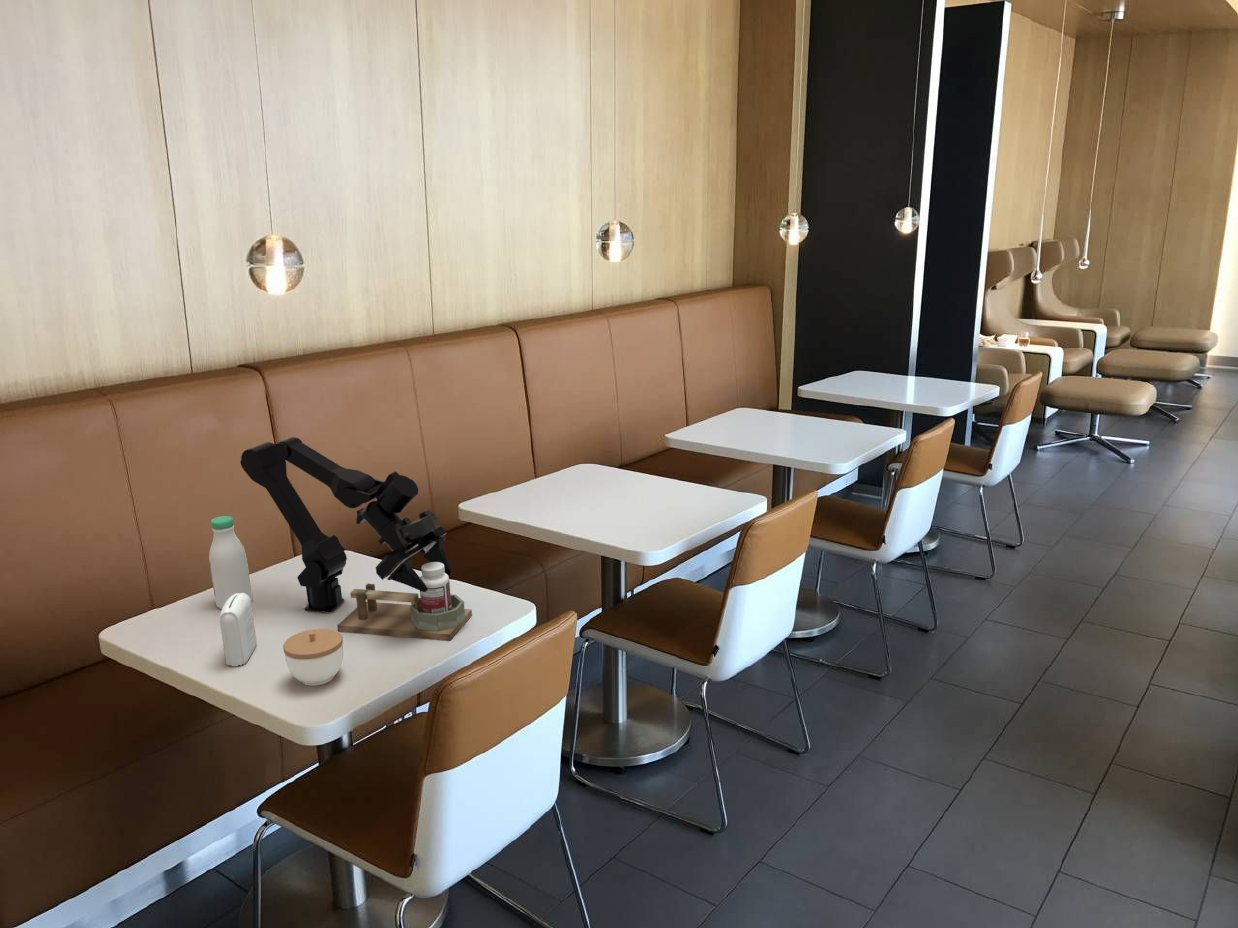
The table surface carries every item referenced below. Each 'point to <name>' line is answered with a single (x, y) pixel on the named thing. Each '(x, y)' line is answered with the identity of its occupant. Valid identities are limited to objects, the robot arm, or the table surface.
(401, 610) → the catapult base
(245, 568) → the milk bottle
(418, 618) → the catapult arm
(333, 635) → the lidded jar
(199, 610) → the table surface
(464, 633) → the table surface
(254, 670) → the table surface
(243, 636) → the photo printer
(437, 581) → the pill bottle
